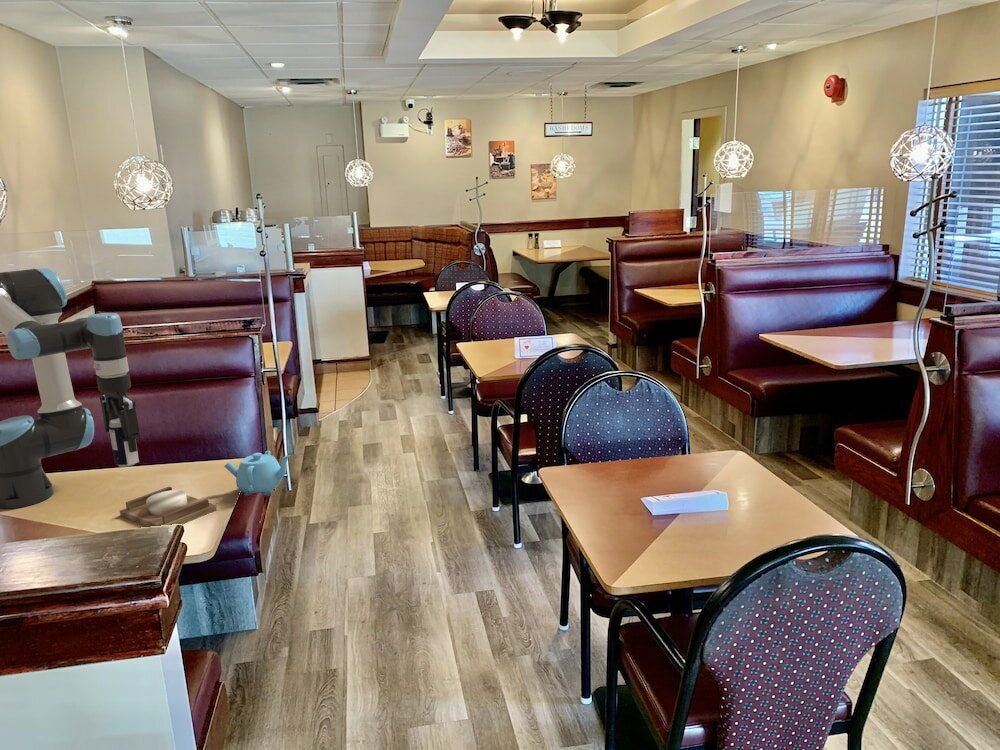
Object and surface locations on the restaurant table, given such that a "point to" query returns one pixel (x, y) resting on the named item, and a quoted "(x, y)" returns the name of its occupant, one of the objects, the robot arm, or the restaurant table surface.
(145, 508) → the brown wooden tray
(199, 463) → the restaurant table surface
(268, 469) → the teapot
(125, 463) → the beverage can
